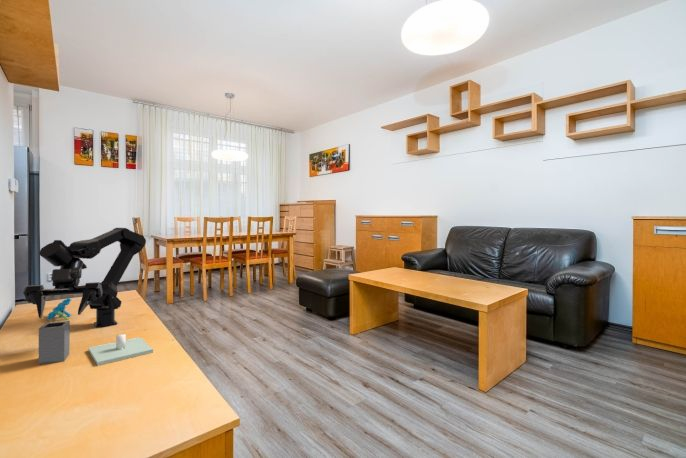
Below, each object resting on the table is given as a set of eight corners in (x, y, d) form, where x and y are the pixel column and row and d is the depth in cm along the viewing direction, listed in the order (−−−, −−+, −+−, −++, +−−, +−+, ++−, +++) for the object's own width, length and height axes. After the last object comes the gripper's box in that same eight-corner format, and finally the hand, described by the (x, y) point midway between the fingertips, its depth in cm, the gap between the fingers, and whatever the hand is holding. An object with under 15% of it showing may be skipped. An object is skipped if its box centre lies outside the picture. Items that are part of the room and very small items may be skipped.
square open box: (45, 356, 97) (45, 323, 97) (69, 353, 100) (69, 320, 99) (38, 364, 92) (38, 329, 92) (64, 361, 95) (64, 326, 94)
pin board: (88, 350, 102) (88, 334, 102) (139, 339, 112) (140, 325, 112) (97, 365, 93) (97, 348, 92) (153, 352, 103) (153, 336, 102)
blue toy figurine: (46, 312, 134) (69, 293, 138) (60, 320, 138) (81, 301, 141) (42, 323, 126) (66, 303, 129) (57, 331, 129) (80, 311, 132)
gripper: (25, 259, 100) (10, 304, 91) (101, 257, 109) (94, 298, 99) (35, 280, 107) (21, 324, 98) (105, 277, 116) (98, 317, 107)
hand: (59, 315), depth 100 cm, fingers open, 9 cm apart
